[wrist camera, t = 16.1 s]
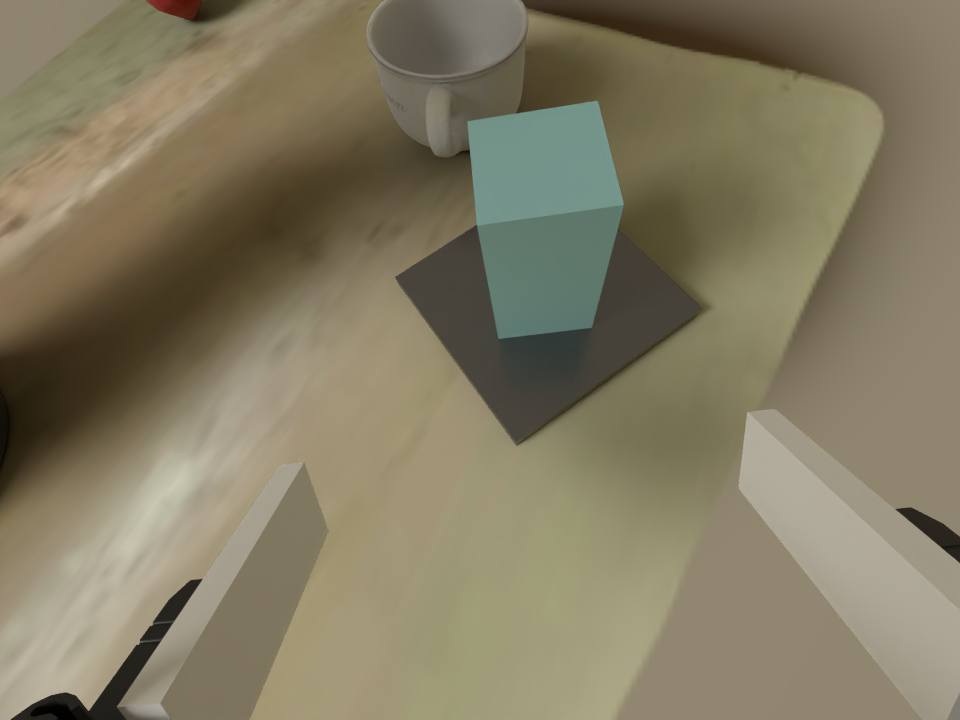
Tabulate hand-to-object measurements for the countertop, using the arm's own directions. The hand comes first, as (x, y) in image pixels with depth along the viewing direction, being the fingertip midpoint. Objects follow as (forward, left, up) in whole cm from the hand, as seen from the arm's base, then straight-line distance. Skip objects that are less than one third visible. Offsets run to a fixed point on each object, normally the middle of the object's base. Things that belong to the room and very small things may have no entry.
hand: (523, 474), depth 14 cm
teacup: (-26, +12, -13) cm, 32 cm away
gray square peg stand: (-10, +8, -13) cm, 18 cm away
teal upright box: (-10, +8, -12) cm, 17 cm away
